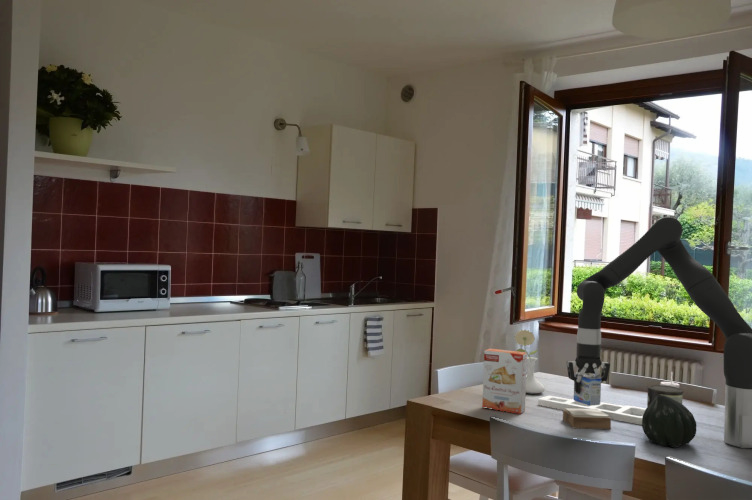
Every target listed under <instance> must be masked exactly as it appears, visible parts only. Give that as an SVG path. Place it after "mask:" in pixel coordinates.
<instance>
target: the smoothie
mask: <svg viewBox="0 0 752 500" xmlns="http://www.w3.org/2000/svg"><path fill="white" fill-rule="evenodd" d="M673 375H674V372H673V371H670V381H660V384H659V385H666V386H673V387H677V388H680V384H679V383H677V382H674V381H673Z"/></svg>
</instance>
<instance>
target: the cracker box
mask: <svg viewBox="0 0 752 500" xmlns="http://www.w3.org/2000/svg"><path fill="white" fill-rule="evenodd" d="M527 353H528V352H527ZM527 353H526V351H525V352H517V350H515V351H514V350H508V349H507V350H506V349H499V348H490V347H489V348H487V349H485V350H484V353H483V379H482V380H483V381H482V403H481V405H482V407H487V408H492V409H495V410H494V411H498V410H500V411H499V412H504V411H506V412H505V413H510V412H511V413H512V414H517V415H521V414H522V413H524V412H525V411H526V394H527V393H526V377H527V366H528V364H527V357H528V355H527ZM511 413H510V414H511Z"/></svg>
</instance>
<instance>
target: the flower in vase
mask: <svg viewBox="0 0 752 500" xmlns="http://www.w3.org/2000/svg"><path fill="white" fill-rule="evenodd" d="M514 340H515V341H516V344H518V345H521V346H523V347H526V346H531V345H533V344H534V342H535V341H536V338H535V335H534V334H533V332H531V331H530V330H527V329H524V330H523V329H521V330H519V331H516V334H515V335H514ZM526 349H527V348H523V349H522V348H517V350H516V351H517V352H526V353H527V374H526V394H541V393H543V392H545V391H546V389H545V387H544V385H543V384H542V383H541V382H540V381H538V379H536V377H535V372H534V371H535V365H536V362H537V361H538V357H532V356H530V355H534V354H536V353H537V352H538V351H539V349H536V350H533V351H530V352H529V353H528V351H527V350H526Z"/></svg>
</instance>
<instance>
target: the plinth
mask: <svg viewBox="0 0 752 500" xmlns="http://www.w3.org/2000/svg"><path fill="white" fill-rule="evenodd" d="M562 421H564V422H565V423H566V424H568V426H570V427H571V428H573V429H590V430H591V429H592V430H593V429H595V430H601V429H602V430H610V429H612V427H611V425H612V419H611V418H610V417H609V416H608V415H606V414H605V413H603V412H601V411H600V410H598V409H572V408H565V410H562Z"/></svg>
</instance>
